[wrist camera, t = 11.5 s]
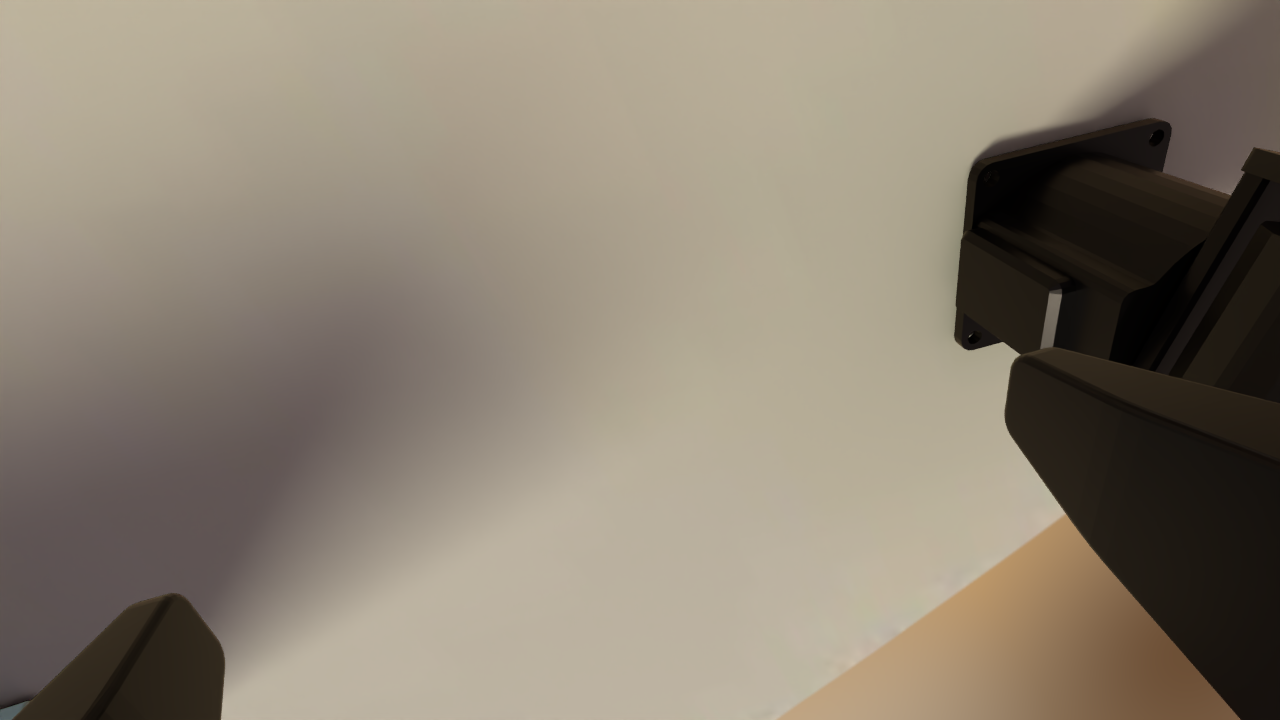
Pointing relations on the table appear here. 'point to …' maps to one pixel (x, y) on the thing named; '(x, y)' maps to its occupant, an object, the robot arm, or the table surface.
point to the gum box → (12, 711)
